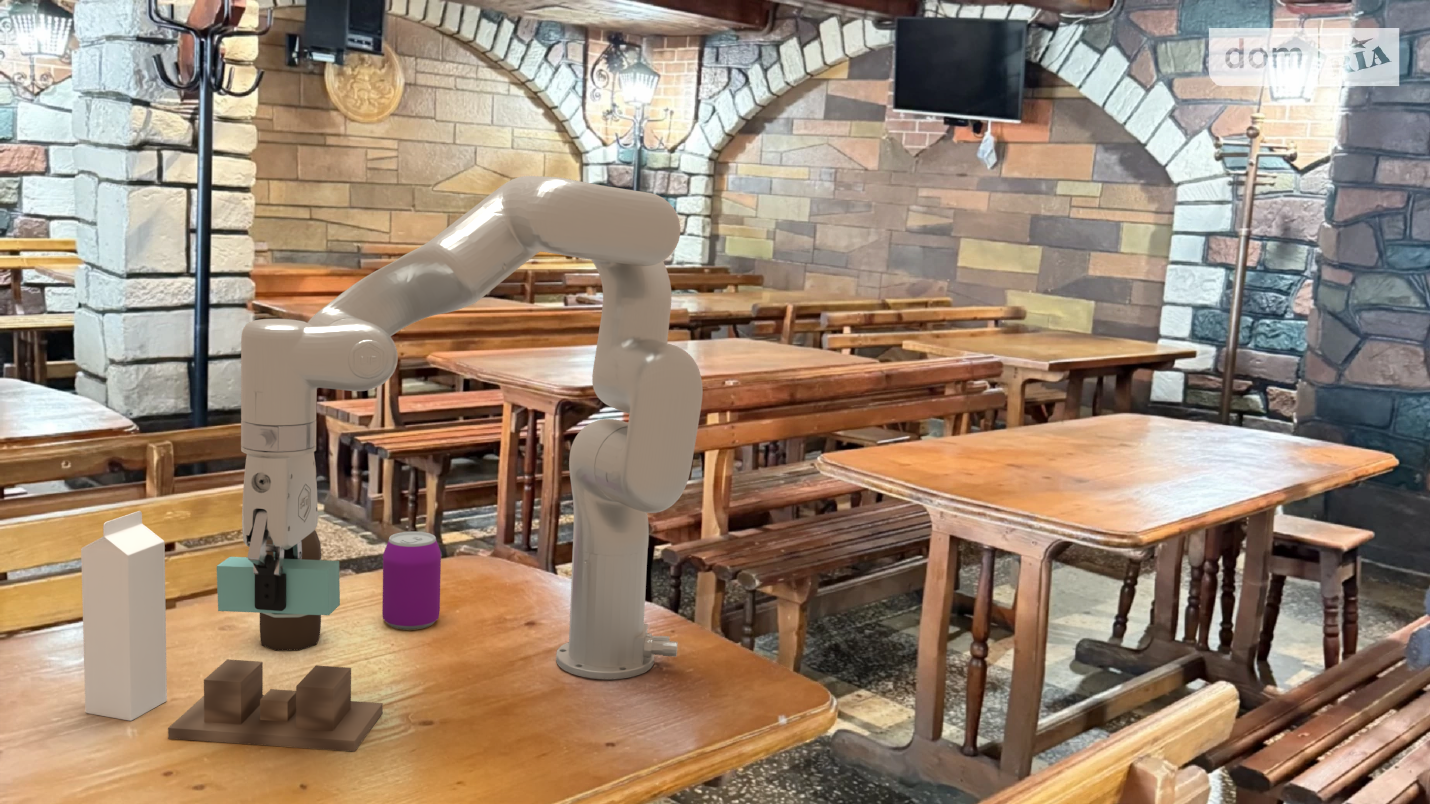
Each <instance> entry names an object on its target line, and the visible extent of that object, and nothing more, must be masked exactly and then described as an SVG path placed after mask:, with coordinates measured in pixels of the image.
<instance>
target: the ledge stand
mask: <svg viewBox="0 0 1430 804" xmlns="http://www.w3.org/2000/svg"><path fill="white" fill-rule="evenodd" d="M263 663H264V662H263V661H259V660H257V661H256V660H255V661H254V660H245V659H244V660H243V659H241V660H240V659H226V660H225V661H224V662H223V663H221V664H219V666H217V668H215V669H214V670H213V671H212V672H211V673H210V674H208V675H207V676H206V677H205V678H204V679H203V696H202V697H201V698H200V699H199V700H197V701H196V702H195V703H194V704H193V705H192V706H190V708H189V709H187V710H186V711H185V712H184V713H183V714H182V715H181V716H179V717H178V719H176V720H175V721H174V722H173V723H172V724H171V725H170V726H169V727H168V728H167V737H168V739H169V740H170V739H171V740H185V741H196V742H197V741H199V742H213V743H227V744H228V743H229V744H244V745H256V746H257V745H258V746H270V747H283V748H284V747H285V748H300V749H313V750H314V749H315V750H325V751H328V750H329V751H342V752H354V753H355V752H356V750H357V749H358V747H359V746H360V745H361V744H362V742H363V741H364V740H365V738H366V736H368V734H369V733H370V731H371V730H372V728H373V727H375V726H374V725H375V724H377V721H378V720H379V719H380V717H381V716H382V715H383V709H384V708H383V706H384V703H383V702H373V701H372V702H371V701H356V700H352V667H348V666H346V667H345V666H344V667H343V666H330V665H317V664H316V665H314V667H313V668H312V669H310V670H309V672H308V673H307V674H306V675H305V676H304V677H303V678H302V679H301V681H300V682H298V683H297V684H296V686H295V690H290V689H287V690H286V689H276V688H275V689H273V688H270V689H269V690H268V691H267V692H266V693H265V694H263V693H264V692H263V690H264V689H263V688H264V685H263V684H264V683H263V682H264V681H263V680H264V678H263V676H264V675H263V671H264V670H263V669H264V668H263V666H264V665H263Z"/></svg>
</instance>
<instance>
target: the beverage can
mask: <svg viewBox="0 0 1430 804" xmlns="http://www.w3.org/2000/svg"><path fill="white" fill-rule="evenodd" d="M441 561H442V551H441V548H440V545H439V543H438V541H437V537H436V536H435V535H434V534H432V533H430V532H425V531H403V532H402V531H401V532H396V533H394V534H391V535H389V538H388V540H387V544H386V545H385V548H384V551H383V554H382V607H381V608H382V610H381V611H382V612H381V613H382V619H383V620H384V622H386V623H387V624H388V625H389V626H390V627H392V628H394V629H398V630H405V631H406V630H408V631H409V630H410V631H411V630H412V631H413V630H415V631H416V630H422V629H427V628H428V627H430V626H432V625H433V624H434V623H435V622H436V621H437V620H439V618H440V610H441V574H442V573H441V572H442V571H441V567H442V566H441V565H442V563H441Z"/></svg>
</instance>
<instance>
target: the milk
mask: <svg viewBox="0 0 1430 804" xmlns="http://www.w3.org/2000/svg"><path fill="white" fill-rule="evenodd" d="M102 530H103V531H102V533H103V535H102V537H100V538H98V539H95V540H94V541H93V542H90V543H88V544H86V545H85V546H82V547H81V549H80V557H81V560H80V561H81V562H80V563H81V591H82V592H81V596H82V597H81V599H82V626H83V627H82V630H83V631H82V633H83V637H82V638H83V666H84V669H83V670H84V671H83V672H84V709H85V713H86V714H90V715H96V716H102V717H106V718H114V719H117V720H118V719H119V720H124V721H129V722H132V721H134V720H135V719H137V718H139V717H141V716H143V715H145V714H146V713H148V712H150V711H151V710H153V709H155V708H157V707H158V706H160V705H162V704H163V703H165V702H168V701H167V700H168V694H167V693H168V689H167V688H168V687H167V686H168V685H167V684H168V683H167V681H168V680H167V678H168V677H167V624H166V623H167V622H166V621H167V617H166V615H167V614H166V611H167V610H166V562H165V561H166V559H165V558H166V556H165V553H166V551H165V549H166V547H165V544H166V543H165V540H164V539H162V537H160V536H158V535H157V533H154V531H152V530H151V529H150V528H148V527H147V526H146V525H145V524H143V514H142V511H141V510H138V511H135V512H132V513H129V514H126V515H123V516H120V517H116V518H114V519H111V520H107V521H105V522H104V523H103V528H102Z"/></svg>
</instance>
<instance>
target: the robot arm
mask: <svg viewBox="0 0 1430 804" xmlns="http://www.w3.org/2000/svg"><path fill="white" fill-rule="evenodd" d="M680 237H681V223H680V219H679V216H678V213H677V212H676V209H675V208H674V206H673V205H672V204H671V203H670V202H669V201H668V200H666V199H665V198H663V197H662V196H660V195H658V194H655V193H653V192H652V193H651V192H645V191H639V190H632V189H627V188H626V189H625V188H622V187H621V188H619V187H614V186H613V187H612V186H606V185H600V184H595V183H589V182H585V181H579V180H577V179H576V180H575V179H570V178H565V177H558V176H544V175H543V176H542V175H541V176H539V175H523V176H518V177H516V178H513V179H510V180H509V181H507V182H505V183H503V184H502V185H501V186H499V187H498V188H497V189H496V190H494V191H493V192H491V193H490V194H488V196H486V197H485V198H484V199H482V200H481V201H480V202H479V203H477V204H476V205H474V206H473V207H472V208H470V210H468V211H467V212H466V213H464V214H463V215H461V216H460V217H459V218H458V219H456V220H455V221H454V222H453V223H451V224H450V225H448V226H447V227H446V228H445V229H443V230H442V231H440V233H438V234H437V235H436V236H434V237H433V238H432V239H430V240H429V241H427V242H426V243H424V244H423V245H421V246H419V247H418V248H415V249H413V250H411V251H409V252H407V253H406V254H404V255H402V256H401V257H399V258H397V259H395V260H394V261H392V262H391V263H388V264H386V265H384V266H382V267H380V268H379V269H377V270H375V271H374V272H372V273H370V274H368V275H366V276H365V277H363V278H362V279H360V280H358V281H357V282H355V283H354V284H352V285H351V286H350V287H348V288H347V289H346V290H344V291H343V292H342V293H340V294H338V296H337V297H335V298H334V299H333V300H331V301H330V302H329V303H328V304H326V305H325V306H324V307H322V308H321V309H319V310H318V311H317V312H316V313H315V314H314V315H313V316H312V317H311V318H310V319H309V320H308V321H307V322H306V321H304V320H298V319H297V320H296V319H291V318H289V319H288V318H263V319H254V320H252V321H249V322H248V323H246V325H244V327H243V329H242V330H241V342H240V347H241V348H240V351H241V352H240V353H241V354H240V356H241V357H240V360H241V362H240V363H241V365H240V366H241V367H240V368H241V369H240V370H241V373H240V374H241V375H240V377H241V378H240V382H241V383H240V384H241V385H240V388H241V389H240V390H241V391H240V395H241V396H240V397H241V398H240V401H241V402H240V408H241V409H240V418H241V420H240V450H241V452H242V453H243V454H246V457H245V458H246V459H245V466H244V475H243V476H244V477H243V488H242V489H243V490H242V508H241V509H242V511H241V514H242V515H241V519H242V520H241V527H242V528H241V529H242V531H241V532H242V541H243V543H244V544H245V546H247V547H248V551H247V557H248V560H250V561H251V562H252V563H253V565H254V567H253V572H254V574H255V608H256V609H259V610H273V611H283V610H284V609H285V608H286V574H284V573H283V561H284V559H301V558H302V543H301V541H302V540H303V539H304V538H305V537H306V536H308V535H309V534H310V533H312V532H313V531H314V530H315V531H316V529H317V526H318V524H319V517H318V516H319V512H318V509H319V508H318V507H319V506H318V488H317V487H318V485H317V482H318V481H317V467H316V459H315V452H316V451H317V399H318V398H317V393H318V392H317V390H318V389H319V388H320V389H329V390H330V389H331V390H341V391H351V392H365V391H370V390H374V389H376V388H378V387H380V386H382V385H384V384H385V383H386V382H387V381H388V380H389V379H390V378H391V377H392V376H393V374H394V373H395V371H396V368H397V365H398V360H399V357H398V356H399V353H398V349H397V346H396V344H395V341H394V340H393V338H392V336H393V335H395V334H396V333H398V332H399V331H401V330H403V329H404V328H407V327H408V326H410V325H413V324H414V323H416V322H419V321H422V320H424V319H427V318H430V317H433V316H438V315H443V314H447V313H448V314H449V313H451V312H452V313H453V312H456V311H458V310H462V309H464V308H467V307H469V306H471V305H473V304H476V303H477V302H479V301H480V300H481V299H483V297H485V296H486V295H487V294H488V293H490V292H491V291H492V290H494V289H495V288H496V287H497V286H498V285H499V284H501V283H502V282H503V281H504V280H506V279H507V278H509V276H511V275H512V274H513V273H514V272H516V271H517V270H518V269H520V267H522V266H524V264H526V263H527V262H528V261H529V260H531V259H532V258H533V257H535V256H536V255H537V254H538V253H540V252H541V253H547V254H555V255H562V256H566V257H572V258H577V259H585V260H591V261H592V263H593V265H594V266H595V268H596V270H597V272H598V275H599V278H600V282H601V286H602V307H601V308H602V309H601V317H600V323H599V328H598V329H599V330H598V336H597V342H596V349H595V355H594V361H593V368H592V380H591V381H592V389H593V391H594V393H595V395H596V397H597V398H598V400H600V401H601V402H602V403H604V404H605V405H607V406H609V407H610V408H613V409H614V410H615V409H616V410H618V411H620V412H623V413H626V414H628V415H629V416H628V422H627V421H623V420H620V419H615V418H614V419H613V418H603V419H597V420H594V421H592V422H591V423H588V424H587V425H586V426H584V427H583V428H582V429H581V430H580V431H579V432H578V433H577V435H576V436H575V437H574V439H573V441H572V444H571V446H570V450H569V459H568V460H569V461H568V464H569V465H568V467H569V468H568V469H569V477H570V485H571V493H572V501H573V502H572V503H573V535H572V536H573V538H572V541H573V542H572V559H571V584H570V585H571V587H570V604H569V605H570V609H569V610H570V611H569V632H568V635H569V637H568V641H567V642H566V643H563V644H562V645H561V646H559V647H558V648H557V650H556V652H555V662H556V663H557V666H559V668H561V669H562V670H563V671H565V672H566V673H569V674H572V675H574V676H579V677H583V678H588V679H595V680H620V679H627V678H633V677H637V676H640V675H643V674H644V673H647V672H648V671H650V670H651V668H653V666H654V663H655V655H660V656H662V657H674V658H677V656H678V641H674V640H673V641H671V640H670V636H668V635H652V634H653V633H652V632H651V633H650V632H649V633H648V628H649V627H648V625H649V624H648V623H645V610H646V609H645V608H646V589H647V587H646V586H647V571H648V570H647V567H648V566H647V565H648V548H649V533H650V532H649V531H650V530H649V518H648V517H649V516H648V513H649V514H655V513H660V512H663V511H665V510H668V509H669V508H670V507H672V506H673V505H674V504H675V503H677V502H678V500H679V499H680V497H681V496H682V494H683V493H684V491H685V488H686V487H687V484H688V481H689V478H690V474H691V471H692V465H693V459H694V453H695V447H696V441H697V435H698V430H699V429H698V428H699V423H700V416H701V411H702V410H701V409H702V403H703V393H704V392H703V391H704V390H703V389H704V388H703V381H702V376H701V372H700V368H699V366H698V364H697V362H696V360H695V359H694V358H693V357H692V356H691V355H690V354H689V353H688V352H687V351H686V350H684V349H683V348H681V347H679V346H677V345H674V344H671V343H668V339H669V331H670V330H669V328H670V319H671V311H672V310H671V309H672V287H671V280H670V276H669V273H668V270H667V267H666V265H665V262H664V261H665V260H666V259H668V258H669V257H670V256H671V255H672V254H673V253H674V251H675V250H676V248H677V245H678V244H679V241H680ZM267 540H273V545H272V544H266V542H267ZM266 551H269V552H273V554H274V558H275V560H274V558H273V556H272V555H268V554H267V552H266Z"/></svg>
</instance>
